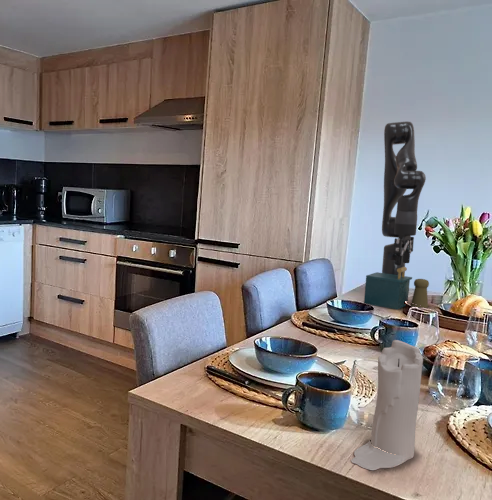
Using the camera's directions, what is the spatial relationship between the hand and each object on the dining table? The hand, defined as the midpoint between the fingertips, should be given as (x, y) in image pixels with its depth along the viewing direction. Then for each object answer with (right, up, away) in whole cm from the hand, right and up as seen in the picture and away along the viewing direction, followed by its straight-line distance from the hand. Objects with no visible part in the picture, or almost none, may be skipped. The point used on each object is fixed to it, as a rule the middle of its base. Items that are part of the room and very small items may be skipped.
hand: (402, 264), depth 197 cm
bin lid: (-3, -6, +4) cm, 8 cm away
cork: (+9, -17, +3) cm, 20 cm away
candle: (-59, -32, -106) cm, 126 cm away
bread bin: (-4, -16, +6) cm, 18 cm away
